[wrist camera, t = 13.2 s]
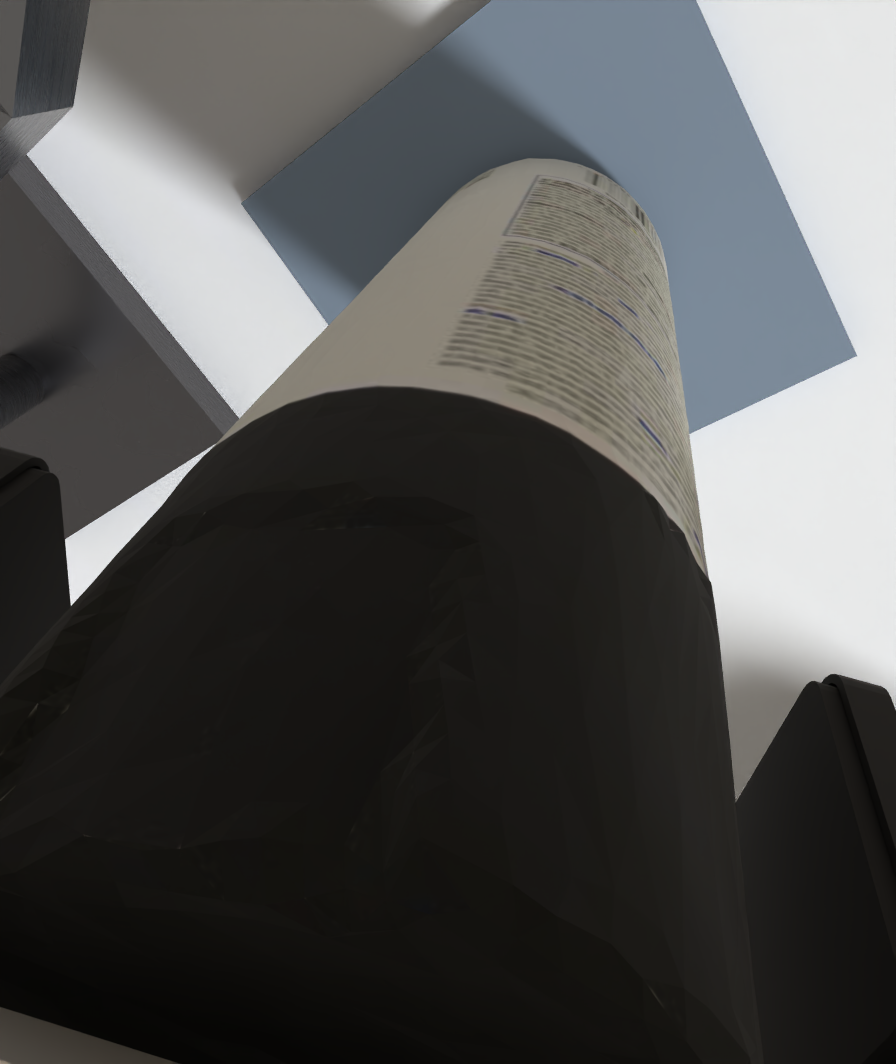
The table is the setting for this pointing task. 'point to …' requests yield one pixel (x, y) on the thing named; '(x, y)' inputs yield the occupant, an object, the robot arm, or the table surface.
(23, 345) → the ring stand
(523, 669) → the spray can
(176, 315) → the table surface
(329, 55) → the table surface
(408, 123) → the mat
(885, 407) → the table surface
